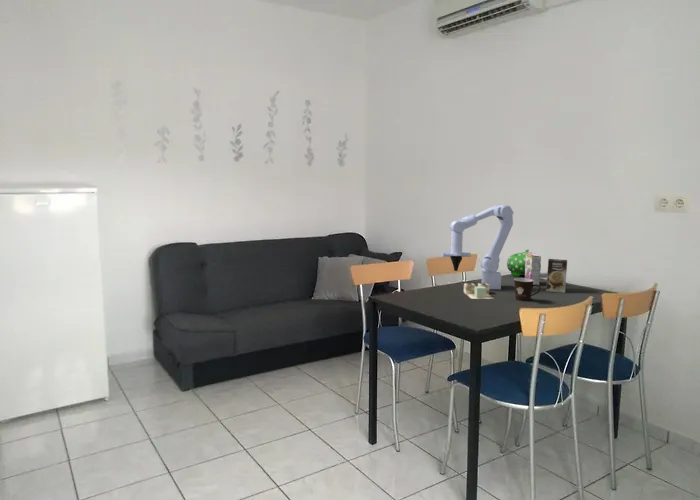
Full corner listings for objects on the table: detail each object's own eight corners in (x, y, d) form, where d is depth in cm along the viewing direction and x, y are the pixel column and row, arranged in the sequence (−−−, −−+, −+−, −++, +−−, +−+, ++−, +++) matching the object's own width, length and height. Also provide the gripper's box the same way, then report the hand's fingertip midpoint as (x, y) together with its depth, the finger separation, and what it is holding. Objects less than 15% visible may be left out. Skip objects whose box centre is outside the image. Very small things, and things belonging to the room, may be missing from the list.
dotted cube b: (472, 292, 263) (472, 282, 262) (474, 294, 258) (475, 284, 258) (463, 292, 263) (463, 282, 262) (465, 294, 258) (466, 284, 257)
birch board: (485, 292, 264) (485, 291, 264) (494, 299, 249) (494, 298, 249) (463, 292, 264) (463, 291, 264) (471, 299, 249) (471, 298, 249)
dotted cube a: (486, 292, 263) (486, 282, 262) (489, 294, 259) (489, 284, 258) (477, 292, 263) (477, 282, 262) (480, 294, 258) (480, 284, 258)
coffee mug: (509, 299, 250) (510, 278, 249) (523, 297, 253) (524, 277, 252) (526, 305, 239) (527, 283, 238) (541, 303, 243) (542, 282, 241)
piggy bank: (540, 278, 300) (542, 252, 298) (507, 277, 303) (509, 252, 301) (536, 274, 314) (537, 249, 312) (505, 273, 317) (506, 248, 315)
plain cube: (483, 295, 256) (483, 286, 255) (486, 297, 251) (486, 288, 251) (474, 295, 256) (474, 286, 255) (476, 297, 251) (477, 288, 251)
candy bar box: (523, 281, 291) (525, 252, 289) (532, 282, 291) (534, 252, 289) (530, 286, 280) (532, 255, 278) (539, 286, 280) (541, 255, 278)
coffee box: (546, 291, 268) (547, 260, 265) (546, 288, 274) (548, 258, 271) (565, 293, 264) (567, 261, 262) (565, 290, 270) (567, 259, 268)
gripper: (444, 245, 264) (443, 272, 266) (472, 245, 264) (471, 272, 266) (441, 243, 271) (440, 269, 273) (469, 243, 271) (468, 269, 273)
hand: (455, 270), depth 270 cm, fingers closed
